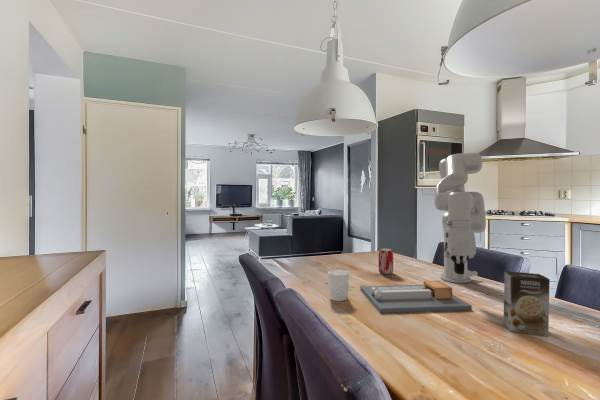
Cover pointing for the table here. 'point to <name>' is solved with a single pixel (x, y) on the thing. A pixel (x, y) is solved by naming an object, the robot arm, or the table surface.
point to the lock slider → (439, 289)
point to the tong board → (411, 300)
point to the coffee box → (526, 303)
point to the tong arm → (396, 288)
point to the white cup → (338, 284)
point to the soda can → (385, 261)
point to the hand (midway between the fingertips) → (459, 273)
